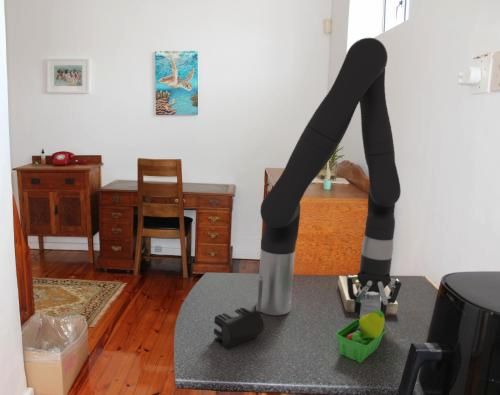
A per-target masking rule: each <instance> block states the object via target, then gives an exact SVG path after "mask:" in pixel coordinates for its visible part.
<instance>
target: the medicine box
mask: <svg viewBox="0 0 500 395" xmlns="http://www.w3.org/2000/svg"><path fill="white" fill-rule="evenodd" d="M380 308H381V299H380V294H379V293H376V292H367V293H366V294H365V296H363V298H362V300H361V310H360V316H359V319H360V318H361V317H362V316H364V315H366V314H370V313H373V311H375V310H379V311H380Z"/></svg>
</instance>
